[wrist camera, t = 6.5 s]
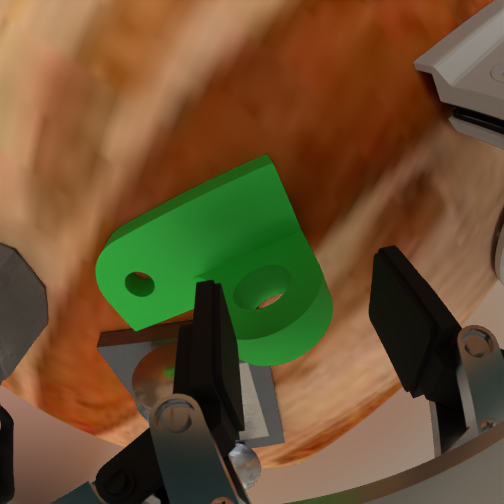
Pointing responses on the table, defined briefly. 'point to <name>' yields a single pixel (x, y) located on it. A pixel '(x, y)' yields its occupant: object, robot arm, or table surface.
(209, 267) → the mechanical part
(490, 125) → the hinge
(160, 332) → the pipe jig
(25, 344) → the coffeepot
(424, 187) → the table surface
